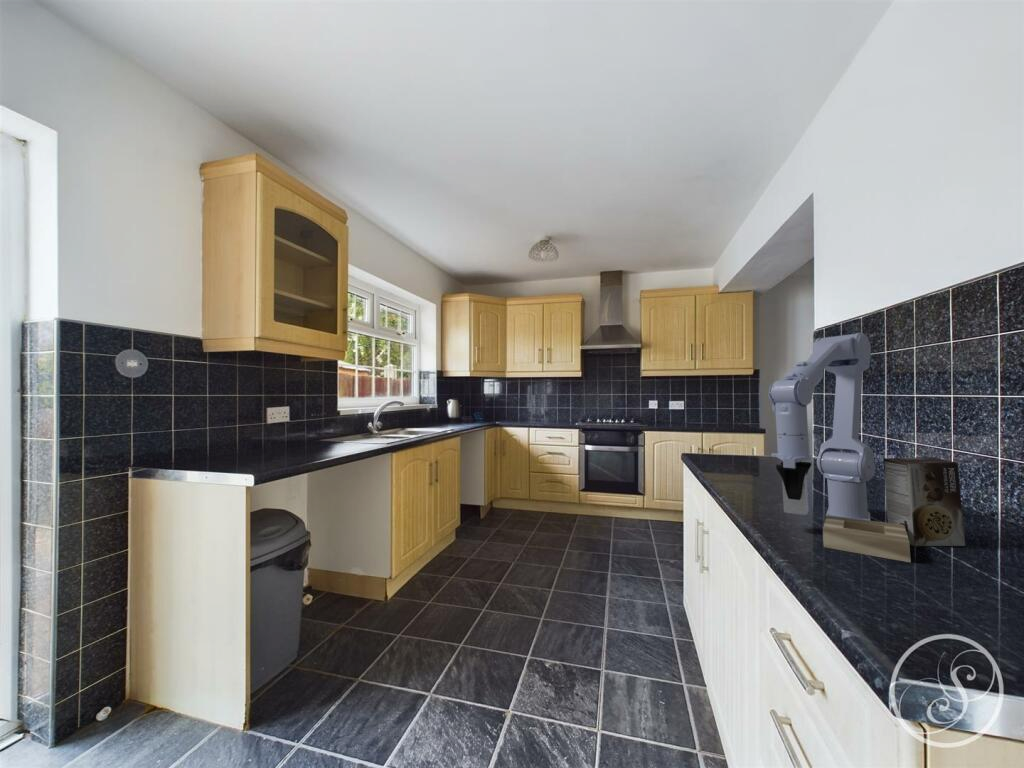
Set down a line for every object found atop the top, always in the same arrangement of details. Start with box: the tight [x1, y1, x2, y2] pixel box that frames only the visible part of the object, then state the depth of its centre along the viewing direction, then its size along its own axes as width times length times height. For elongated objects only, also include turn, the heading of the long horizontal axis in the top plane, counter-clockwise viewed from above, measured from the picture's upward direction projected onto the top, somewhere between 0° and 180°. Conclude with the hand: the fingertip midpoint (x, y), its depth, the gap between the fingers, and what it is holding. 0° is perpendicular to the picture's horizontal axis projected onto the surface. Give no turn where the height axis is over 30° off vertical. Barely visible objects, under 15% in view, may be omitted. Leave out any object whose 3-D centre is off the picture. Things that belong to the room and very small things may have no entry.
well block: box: [822, 515, 912, 563], centre depth 78 cm, size 12×12×4 cm
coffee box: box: [883, 457, 966, 547], centre depth 80 cm, size 9×6×16 cm
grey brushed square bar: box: [781, 475, 809, 516], centre depth 88 cm, size 4×4×9 cm
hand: (795, 497), depth 87 cm, fingers closed on grey brushed square bar, 4 cm apart
